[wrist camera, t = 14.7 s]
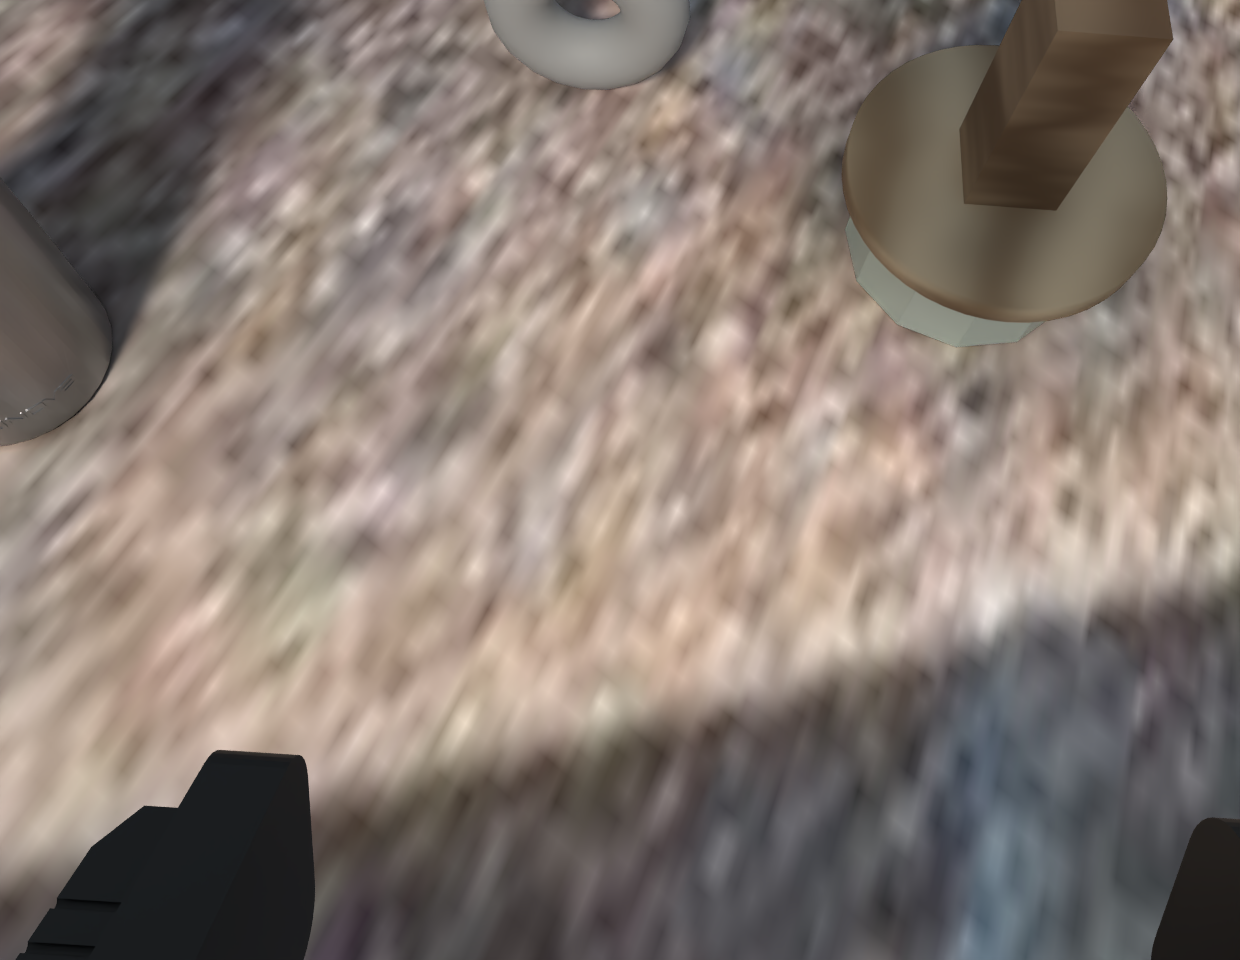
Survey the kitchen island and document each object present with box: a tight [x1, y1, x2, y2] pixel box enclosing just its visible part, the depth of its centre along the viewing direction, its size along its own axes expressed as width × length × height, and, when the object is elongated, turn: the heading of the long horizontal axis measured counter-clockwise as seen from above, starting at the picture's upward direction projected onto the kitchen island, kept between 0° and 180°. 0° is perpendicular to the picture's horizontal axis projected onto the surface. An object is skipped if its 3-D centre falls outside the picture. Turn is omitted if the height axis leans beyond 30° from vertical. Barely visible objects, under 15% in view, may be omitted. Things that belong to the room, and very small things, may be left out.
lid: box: [842, 0, 1173, 323], centre depth 43 cm, size 14×14×11 cm
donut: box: [484, 0, 690, 90], centre depth 51 cm, size 10×3×10 cm, turn 82°
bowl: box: [845, 216, 1045, 347], centre depth 50 cm, size 11×11×5 cm
